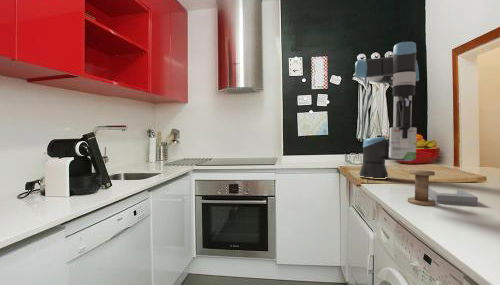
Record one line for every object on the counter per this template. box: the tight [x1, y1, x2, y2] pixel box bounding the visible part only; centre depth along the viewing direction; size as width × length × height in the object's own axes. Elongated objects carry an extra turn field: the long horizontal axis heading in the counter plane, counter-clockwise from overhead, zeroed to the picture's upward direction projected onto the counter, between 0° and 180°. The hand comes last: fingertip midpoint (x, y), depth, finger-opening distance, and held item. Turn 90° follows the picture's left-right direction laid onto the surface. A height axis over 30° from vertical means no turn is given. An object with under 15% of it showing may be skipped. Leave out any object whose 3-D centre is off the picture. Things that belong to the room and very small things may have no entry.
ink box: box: [389, 126, 418, 160], centre depth 105 cm, size 9×5×12 cm, turn 70°
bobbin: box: [407, 169, 437, 207], centre depth 106 cm, size 9×9×12 cm
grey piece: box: [428, 187, 479, 206], centre depth 110 cm, size 14×13×3 cm
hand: (402, 147), depth 105 cm, fingers closed on ink box, 5 cm apart
